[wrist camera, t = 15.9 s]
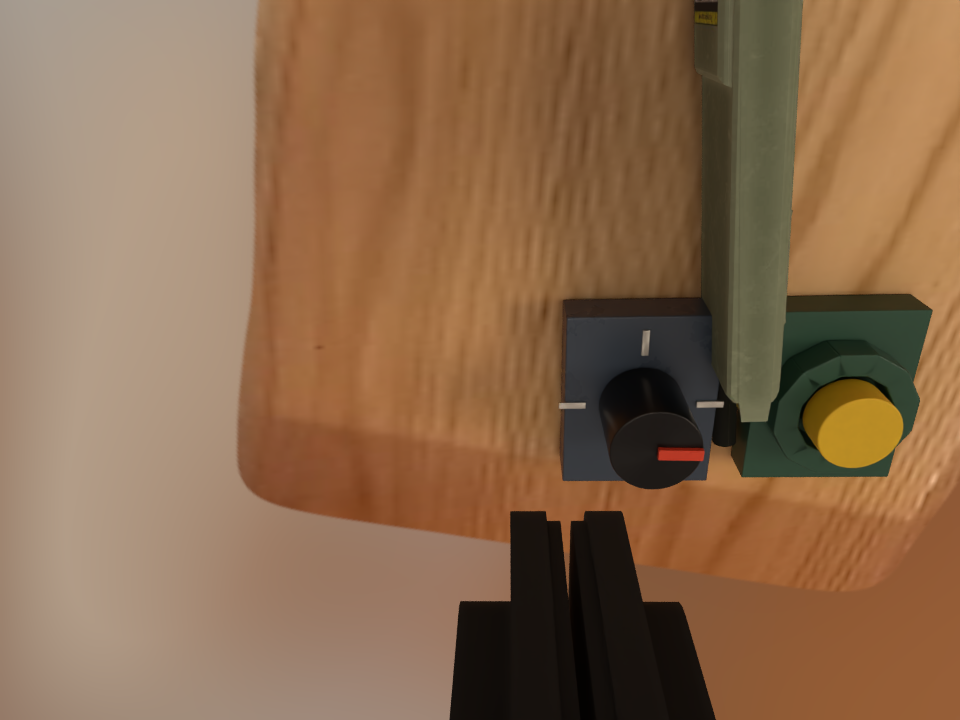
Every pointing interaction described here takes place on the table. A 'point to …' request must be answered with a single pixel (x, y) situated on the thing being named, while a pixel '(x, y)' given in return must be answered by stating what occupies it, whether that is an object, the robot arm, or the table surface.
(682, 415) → the knob
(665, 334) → the nozzle panel
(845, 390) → the yellow push button
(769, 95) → the handheld radio
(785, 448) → the green button base
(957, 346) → the table surface
